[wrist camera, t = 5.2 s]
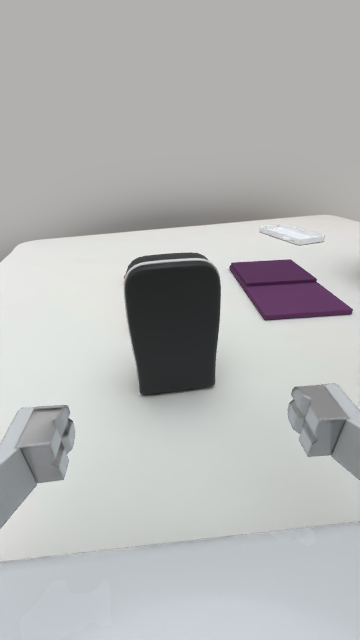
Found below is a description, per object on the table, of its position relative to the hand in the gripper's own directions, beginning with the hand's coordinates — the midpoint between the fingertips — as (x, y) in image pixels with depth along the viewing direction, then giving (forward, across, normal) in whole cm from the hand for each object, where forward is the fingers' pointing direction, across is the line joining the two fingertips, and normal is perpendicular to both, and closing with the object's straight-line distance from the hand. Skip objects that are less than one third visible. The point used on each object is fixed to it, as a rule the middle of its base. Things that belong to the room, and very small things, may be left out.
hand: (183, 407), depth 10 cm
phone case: (+59, -31, +9) cm, 68 cm away
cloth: (+30, -17, +9) cm, 36 cm away
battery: (+12, 0, +10) cm, 16 cm away
